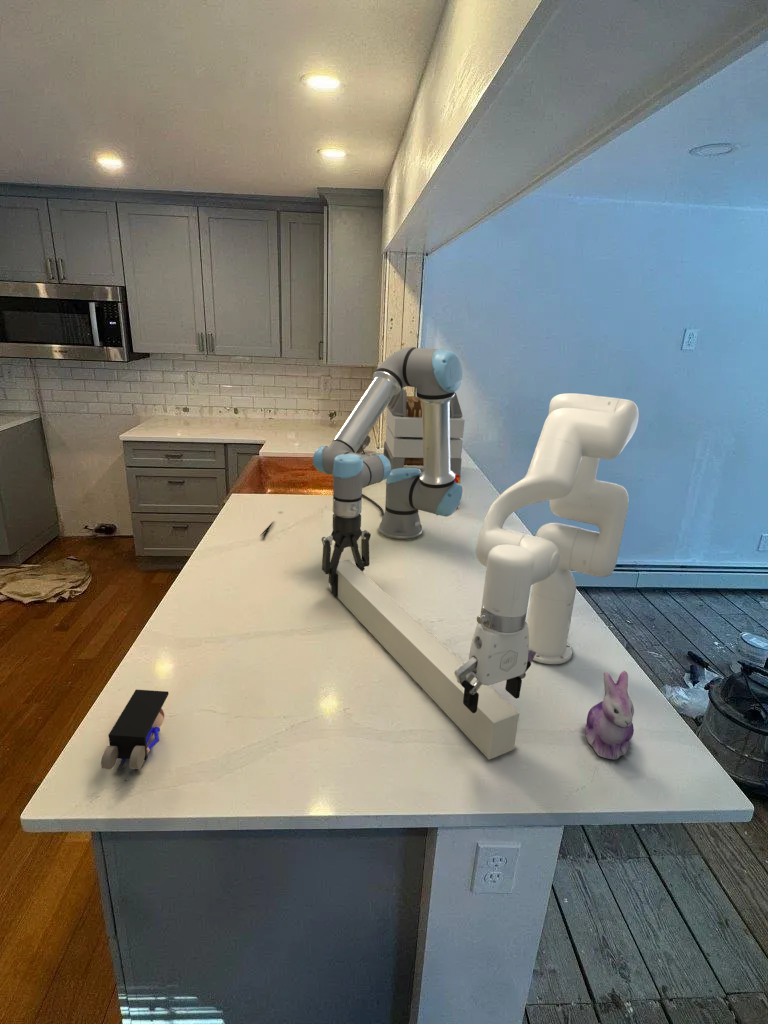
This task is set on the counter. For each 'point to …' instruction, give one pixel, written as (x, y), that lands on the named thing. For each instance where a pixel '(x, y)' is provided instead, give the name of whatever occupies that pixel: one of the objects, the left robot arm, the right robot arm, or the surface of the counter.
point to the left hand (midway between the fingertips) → (345, 592)
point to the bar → (428, 662)
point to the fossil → (364, 445)
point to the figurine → (611, 719)
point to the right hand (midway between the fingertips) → (491, 701)
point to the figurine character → (135, 730)
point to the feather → (267, 530)
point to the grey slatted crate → (417, 432)
